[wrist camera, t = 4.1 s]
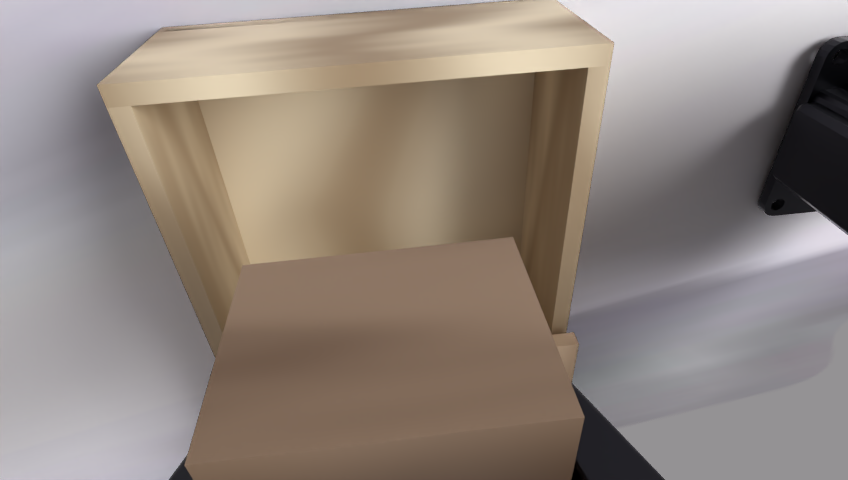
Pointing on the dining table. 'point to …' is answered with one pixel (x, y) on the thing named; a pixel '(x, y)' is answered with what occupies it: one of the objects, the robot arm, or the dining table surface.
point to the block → (388, 372)
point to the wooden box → (366, 139)
